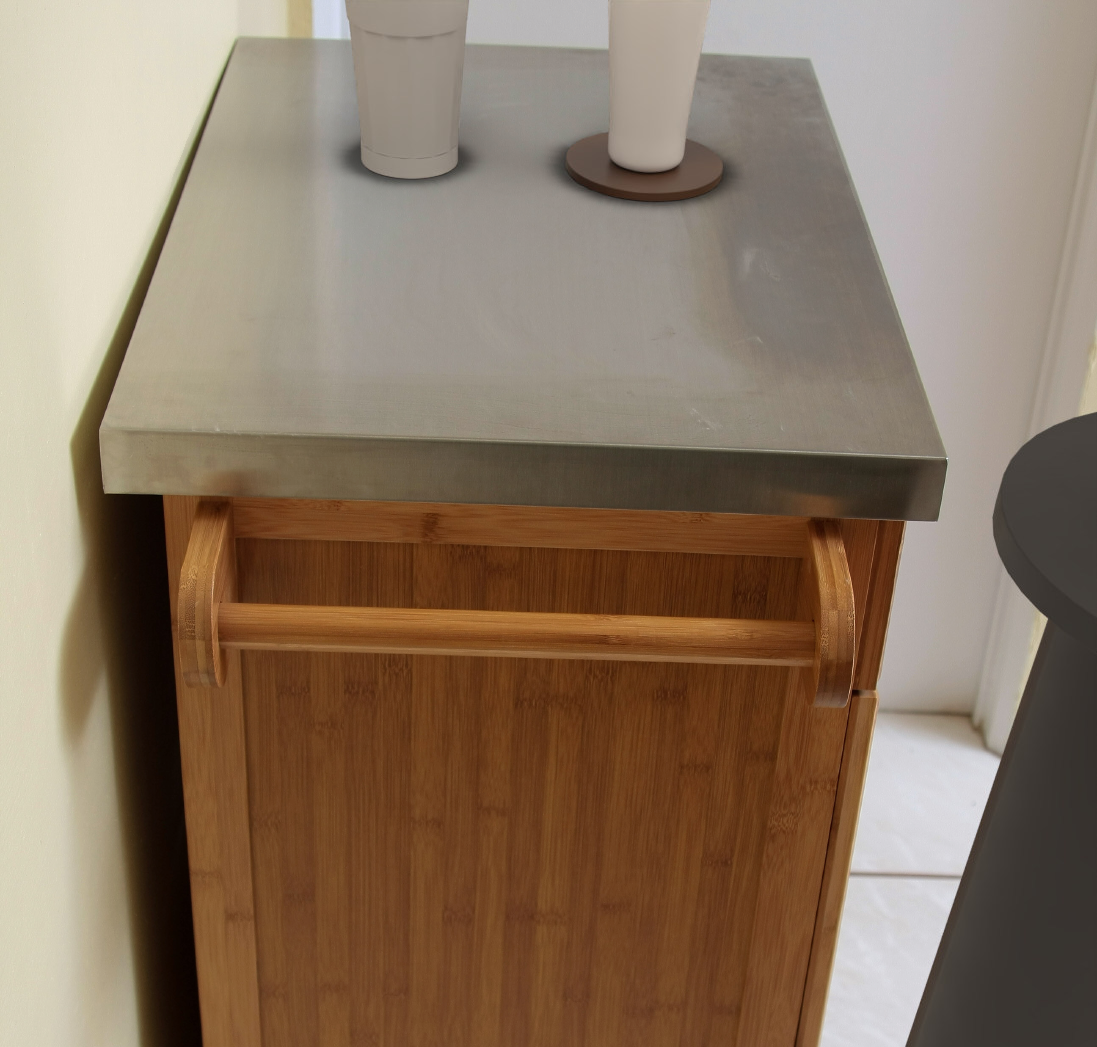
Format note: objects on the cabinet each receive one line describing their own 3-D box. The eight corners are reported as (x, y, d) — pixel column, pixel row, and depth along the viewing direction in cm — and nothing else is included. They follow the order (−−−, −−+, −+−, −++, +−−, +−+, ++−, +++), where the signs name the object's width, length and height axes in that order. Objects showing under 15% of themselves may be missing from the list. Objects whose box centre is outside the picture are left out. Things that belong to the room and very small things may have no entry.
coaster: (751, 167, 110) (752, 159, 109) (665, 215, 103) (666, 206, 102) (624, 126, 114) (625, 118, 114) (534, 170, 107) (534, 161, 107)
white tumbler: (712, 168, 107) (741, -69, 97) (634, 187, 105) (655, -56, 94) (654, 135, 111) (675, -96, 101) (577, 152, 109) (591, -85, 98)
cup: (384, 127, 112) (379, -66, 103) (490, 150, 110) (493, -46, 101) (326, 168, 106) (315, -34, 97) (437, 193, 104) (436, -11, 95)
